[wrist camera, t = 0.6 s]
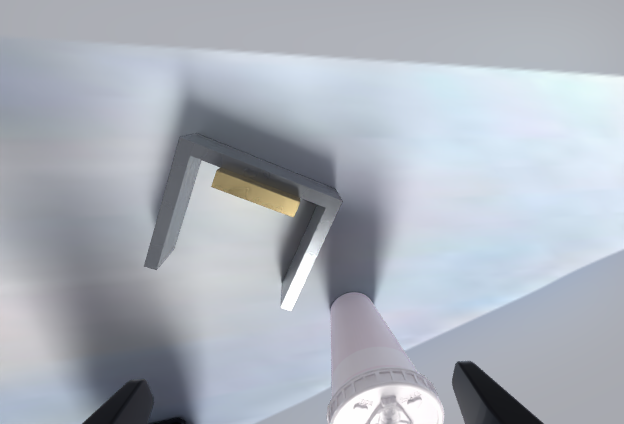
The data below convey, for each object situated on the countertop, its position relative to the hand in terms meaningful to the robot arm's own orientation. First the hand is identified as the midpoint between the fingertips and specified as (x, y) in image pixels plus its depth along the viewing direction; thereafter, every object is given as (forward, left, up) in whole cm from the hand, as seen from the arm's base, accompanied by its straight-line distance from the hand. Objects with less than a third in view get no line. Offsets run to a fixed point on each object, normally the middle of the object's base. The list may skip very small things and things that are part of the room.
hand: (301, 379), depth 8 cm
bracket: (-4, 0, -14) cm, 14 cm away
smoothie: (+2, -10, -14) cm, 17 cm away
